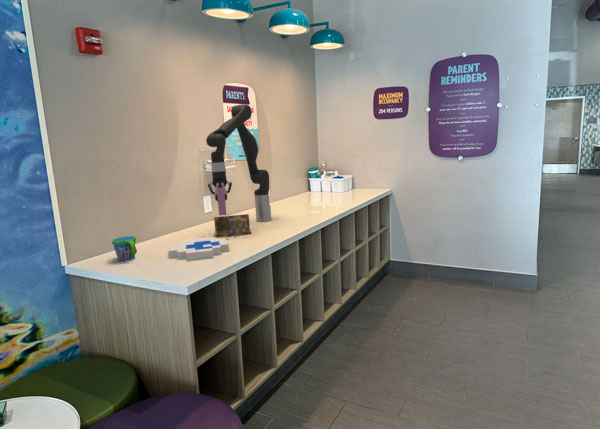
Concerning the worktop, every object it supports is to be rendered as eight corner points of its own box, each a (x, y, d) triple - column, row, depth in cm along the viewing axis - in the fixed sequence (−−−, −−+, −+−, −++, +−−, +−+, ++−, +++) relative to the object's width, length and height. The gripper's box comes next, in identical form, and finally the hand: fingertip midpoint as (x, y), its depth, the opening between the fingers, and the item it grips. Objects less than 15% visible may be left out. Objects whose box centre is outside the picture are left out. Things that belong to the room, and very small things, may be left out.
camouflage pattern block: (249, 229, 249) (248, 214, 248) (251, 234, 238) (250, 217, 236) (215, 233, 246) (214, 217, 244) (215, 237, 234) (214, 221, 232)
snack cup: (108, 259, 202) (105, 238, 200) (129, 254, 209) (127, 234, 207) (122, 264, 191) (120, 243, 189) (144, 259, 199) (142, 238, 197)
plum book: (225, 211, 243) (223, 185, 240) (226, 214, 233) (224, 187, 230) (218, 212, 242) (216, 186, 239) (219, 215, 232) (216, 188, 230)
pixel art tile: (224, 235, 223) (230, 248, 196) (225, 242, 224) (230, 256, 197) (169, 241, 216) (167, 255, 189) (170, 248, 217) (168, 264, 190)
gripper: (231, 169, 238) (233, 199, 241) (205, 170, 235) (208, 201, 239) (231, 170, 231) (234, 200, 234) (205, 171, 228) (208, 203, 231)
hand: (221, 200), depth 236 cm, fingers closed on plum book, 4 cm apart
